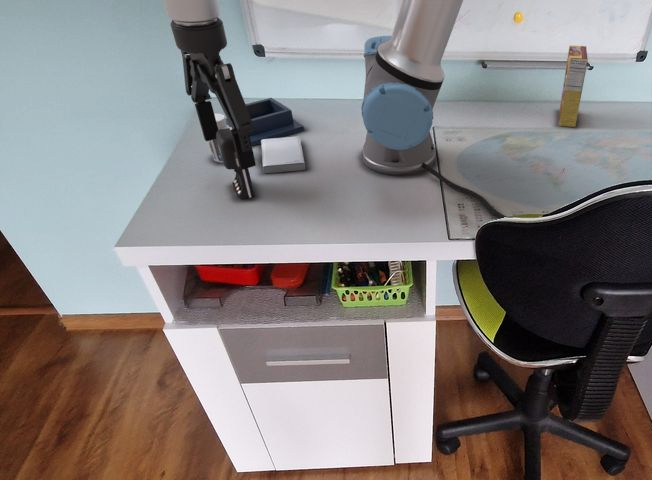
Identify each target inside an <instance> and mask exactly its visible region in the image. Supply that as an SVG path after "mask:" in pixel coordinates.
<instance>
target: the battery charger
mask: <svg viewBox="0 0 652 480" xmlns="http://www.w3.org/2000/svg"><path fill="white" fill-rule="evenodd" d="M230 130H232V127H229V128H226V129H220V130H218V131H217V133H216V138H217V143H218V147H219V152H220V155H221V158H222V160H223V163H222V164H223V166H224V167H225V169H226V170H233V172H234V173H235V176H234V180H233V181H232V188H233V190H234V193H235V194H236V197H237V198H238V199H251V198H253V197H255V191H254V187H253V183H252V179H251V174H250V171H249V168H247V169H244V170H241V169H240V168H239V164H238V159H237V155H236V151H235V147H234V143H233V139H232V135H231V134H230V133H229V132H230Z"/></svg>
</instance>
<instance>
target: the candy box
mask: <svg viewBox="0 0 652 480" xmlns="http://www.w3.org/2000/svg"><path fill="white" fill-rule="evenodd" d="M588 61H589V58H588V51H587V46H585V45H575V44H574V45H573V44H571V45H569V47H568V54H567V60H566V66H565V72H564V79H563V85H562V92H561V99H560V104H559V105H560V106H559V119H558V120H559V121H558V126H559V127H568V128H576V125H577V119H578V114H579V109H580V104H581V99H582V93H583V88H584V82H585V77H586V71H587V68H588Z"/></svg>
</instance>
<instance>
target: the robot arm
mask: <svg viewBox="0 0 652 480" xmlns="http://www.w3.org/2000/svg"><path fill="white" fill-rule="evenodd" d="M162 1H163V5H164V8H165V12H166V16H167V17H168V18H169V19H170V20H171V21H170V24H169V25H170V27H171V31H172V36H173V39H174V42H175V46H176V47H177V49H178V50H180V53H181V57H182V66H183V67H182V68H183V76H184V77H183V78H184V87H185V93H186V95H187V96H190V98H191V101H192V103H193V104H194V107H195V110H196V111H195V112H196V115H197V118H198V121H199V124H200V128H201V132H202V136H203V138H204V139H203V140H204V141H205V142H208V141H210V140H214V139H217V138H216V133H217V131H218V126H217V123H216V119H215V115H214V114H215V111H214V107H213V104H212V101H210V100H212V99H213V97H212V96H211V94H214V96H215V97H216V99H217V101H218V103H219V105H220V106H221V109H222V112H223V113H224V116H225V118H227V119H228V121H229V123H230V125H231V127H232V130H230V132H229V133H230V134H231V135H232V139H233V143H234V147H235V151H236V155H237V159H238V164H239V168H240V169H241V170H244V169H247V168H248V169H249V168H253V167H256V166H257V163H256V158H255V154H254V150H253V146H252V145H251V140H250V136H249V131H252V130H254V125H253V122H252V120H251V117H250V115H249V112H248V110H247V107H246V105H245V104H246V102H245V99H244V97H243V94H242V92H241V89H240V87H239V84H238V82H237V79H236V75H235V71H234V68H233V66H232V63H230V62H229V63H224V61H223V60H222V58H221V55H220V52H221V51H223V50H224V49H225V48H227V45H228V40H227V35H226V31H225V26H224V22H223V20H222V19H221V18H220V15H221V10H220V6H219V1H218V0H162ZM463 2H464V0H402V1H401V4H400V7H399V11H398V15H397V18H396V21H395V24H394V28H393V31H392V34H391V35H378V36H373V37H369V38H368V39H366V40H365V42H364V46H363V47H364V49H363V51H364V53H363V58H364V67H365V80H364V81H365V82H364V90H363V99H362V103H361V116H362V121H363V124H364V127H365V130H366V136H365V141H364V145H363V147H362V159H363V163H364V164H365V166H367V167H368V168H369V169H371V170H372V171H375V172H377V173H379V174H384V175H388V176H411V175H415V174H419V173H422V172H425V171H427V172H429V173H430V174H431V175H432V176H434V177H436V178H437V179H438V180H439V181H440V182H442V183H443V184H445V185H446V186H448V187H449V188H451V189H454V190H455V191H457V192H460V193H462V194H466V195H468V196H471V197H472V198H474V199H475V200H477V201H479V203H481V204H482V206H484V207H485V209H486V210H487V211H488V212H489V213H490V214H491V215H493V216H494V217H496V218H498V219H499V218H504V217H508V216H507V215H505V214H503V213H501V212H500V211H498V210H496V208H494V207H493V206H492V205H491V203H489V201H488V200H487V199H485V197H483V196H482V195H480V194H479V193H477V192H475V191H474V190H471V189H469V188H467V187H463V186H461V185H460V184H459V185H458V184H456V183H455V182H453V181H451V180H450V179H449V178H446V177H445V176H444V175H443V174H441V173H440V172H439V171H437V170H436V169H434V168H433V167H432V166H433V165H434V164H435V162H436V147H435V144H434V141H433V138H432V134H431V129H432V126H433V123H434V121H433V120H434V107H435V105H436V101H437V99H438V96H439V94H440V91H441V88H442V86H443V83H444V80H445V78H446V75H445V72H444V69H443V67H442V64H441V62H442V59H443V57H444V54H445V51H446V48H447V46H448V43H449V40H450V37H451V35H452V32H453V29H454V27H455V24H456V21H457V18H458V17H459V13H460V10H461V8H462V5H463ZM209 92H210V93H211V94H210V93H209Z"/></svg>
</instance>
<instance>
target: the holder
mask: <svg viewBox="0 0 652 480" xmlns="http://www.w3.org/2000/svg"><path fill="white" fill-rule="evenodd" d="M245 105H246V107H247V110H248V112H249V115H250V117H251V120H252V122H253V125H254V130H252V131H249V136H250V140H251V145H252V147H254V146H256V145H260V144H261V140H263V139H273V138H285V137H288V136H290V135H293V134H297V133H300V132H303V131H305V126H304V125H302V124H301V123H300V122H298V121H296V120H295V119H294V116H293V111H292V109H291V108H289V107H287V106H285V104H283V103H281V102H280V101H278V100H276V99H275V98H273V97H267V98H264V99H259V100H256V101H253V102H249V103H245ZM225 119H226V123H227V125H228V126H229V127H231V125H230V123H229V121H228V119H227V117H225Z"/></svg>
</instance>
